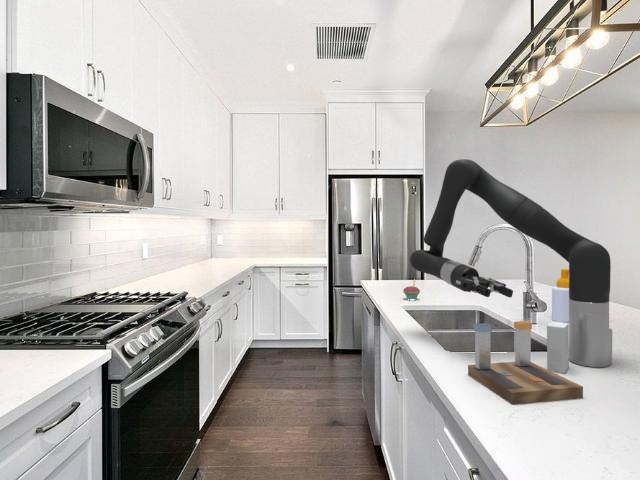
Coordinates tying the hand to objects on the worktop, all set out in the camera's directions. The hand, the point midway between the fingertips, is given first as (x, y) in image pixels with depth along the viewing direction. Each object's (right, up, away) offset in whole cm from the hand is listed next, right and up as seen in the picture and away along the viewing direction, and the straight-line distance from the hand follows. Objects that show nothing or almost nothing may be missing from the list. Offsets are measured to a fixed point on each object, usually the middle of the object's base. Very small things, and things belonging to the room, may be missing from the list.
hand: (500, 293), depth 111 cm
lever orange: (+2, -17, -8) cm, 19 cm away
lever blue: (-9, -17, -10) cm, 22 cm away
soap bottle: (+49, -18, +52) cm, 73 cm away
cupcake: (-1, -17, +102) cm, 103 cm away
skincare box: (+13, -20, -4) cm, 24 cm away
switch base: (-2, -20, -15) cm, 25 cm away
